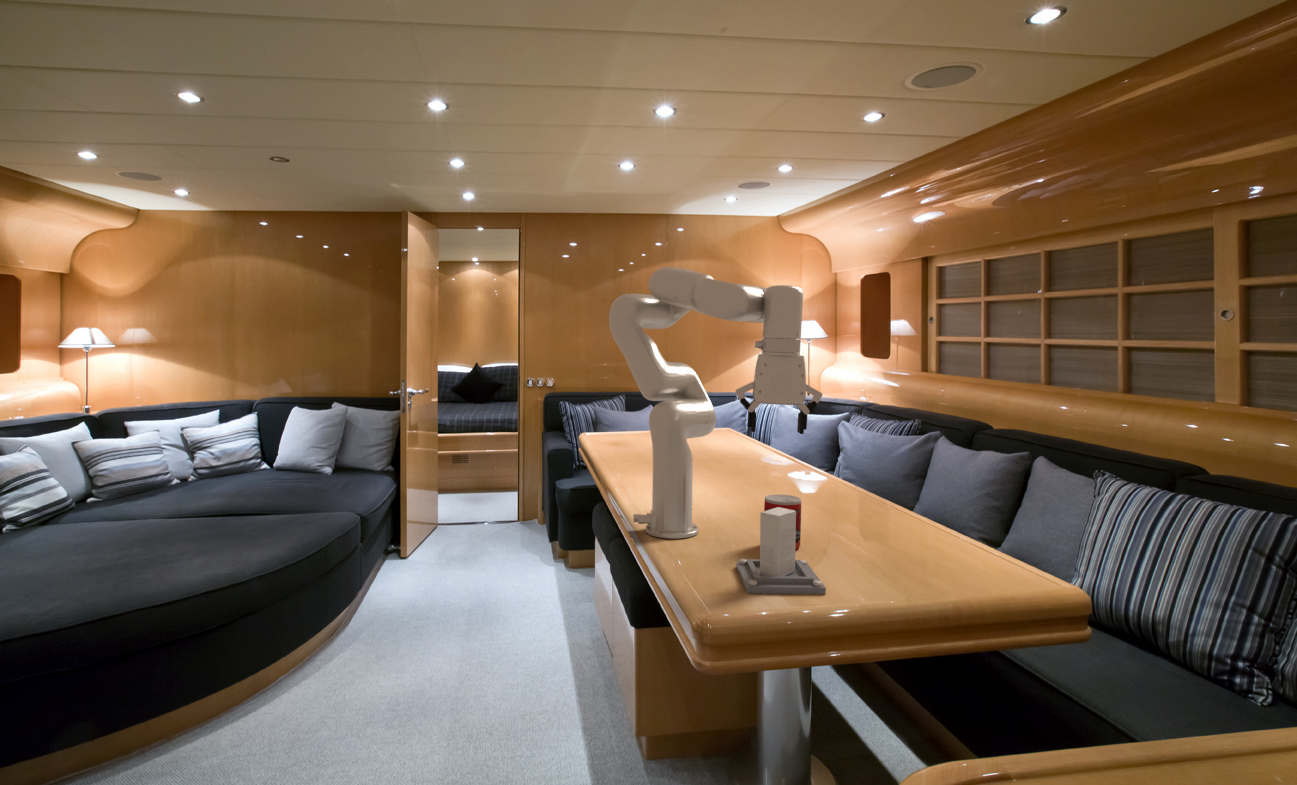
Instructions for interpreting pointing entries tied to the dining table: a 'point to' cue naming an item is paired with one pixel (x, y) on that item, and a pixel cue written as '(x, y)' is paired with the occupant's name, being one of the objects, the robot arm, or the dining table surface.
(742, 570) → the plate
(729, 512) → the dining table surface
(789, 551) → the skincare box
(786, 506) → the canned food
